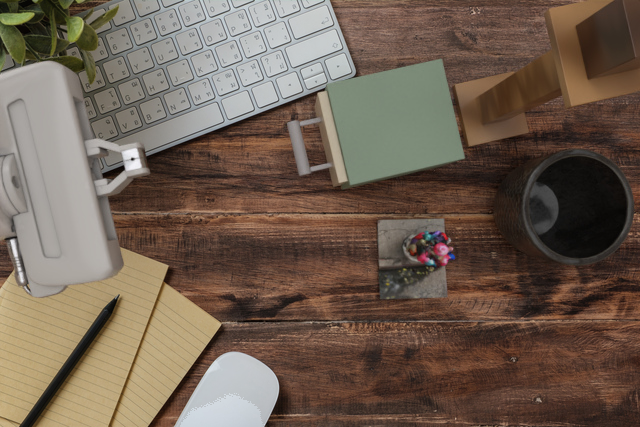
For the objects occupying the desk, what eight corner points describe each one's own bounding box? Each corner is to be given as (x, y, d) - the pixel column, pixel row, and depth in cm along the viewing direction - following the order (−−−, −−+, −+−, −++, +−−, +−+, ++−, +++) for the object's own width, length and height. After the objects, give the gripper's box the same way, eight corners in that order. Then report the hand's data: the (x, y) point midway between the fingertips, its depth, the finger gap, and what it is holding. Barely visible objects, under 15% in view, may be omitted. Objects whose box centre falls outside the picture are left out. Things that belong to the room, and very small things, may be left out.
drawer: (302, 194, 66) (303, 191, 58) (283, 113, 66) (282, 100, 58) (426, 165, 67) (443, 158, 60) (407, 86, 67) (423, 69, 59)
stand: (451, 86, 69) (548, 8, 43) (511, 73, 69) (642, -12, 43) (465, 147, 69) (571, 106, 43) (525, 134, 69) (664, 85, 43)
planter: (478, 258, 69) (522, 267, 56) (477, 160, 69) (520, 148, 56) (572, 256, 70) (637, 265, 57) (571, 160, 70) (635, 147, 57)
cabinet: (341, 189, 67) (350, 185, 58) (321, 102, 67) (326, 83, 58) (440, 166, 68) (465, 158, 59) (420, 80, 68) (442, 58, 59)
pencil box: (574, 25, 43) (621, -6, 37) (626, 14, 43) (681, -19, 37) (587, 80, 43) (635, 58, 37) (639, 68, 43) (695, 44, 37)
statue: (375, 221, 69) (396, 206, 54) (439, 220, 69) (478, 205, 54) (378, 298, 68) (401, 305, 53) (444, 296, 68) (484, 302, 53)
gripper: (1, 309, 41) (162, 271, 41) (-57, 74, 40) (106, 39, 41) (40, 296, 47) (179, 263, 48) (-10, 92, 47) (131, 62, 47)
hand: (145, 158), depth 44 cm, fingers closed
